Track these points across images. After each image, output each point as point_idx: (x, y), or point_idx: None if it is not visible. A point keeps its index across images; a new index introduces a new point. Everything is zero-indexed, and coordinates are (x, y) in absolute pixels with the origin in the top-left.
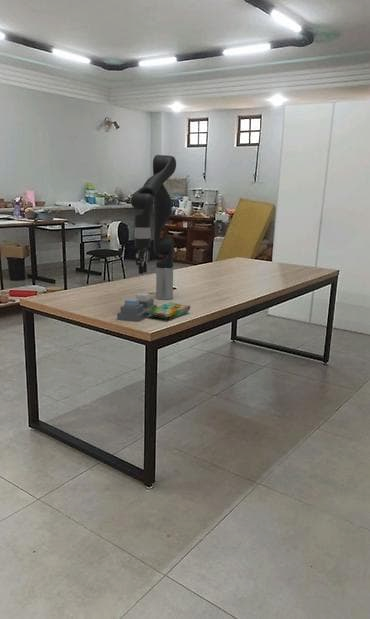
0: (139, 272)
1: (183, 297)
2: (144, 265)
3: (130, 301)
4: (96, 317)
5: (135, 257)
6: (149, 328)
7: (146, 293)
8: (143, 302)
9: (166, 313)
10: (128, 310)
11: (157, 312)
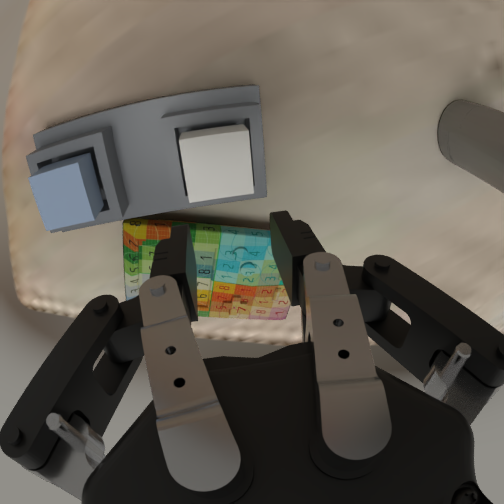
0: (160, 247)
1: (474, 191)
2: (290, 283)
3: (39, 207)
4: (31, 40)
5: (23, 401)
6: (44, 283)
7: (246, 177)
8: (172, 185)
9: None
10: None
11: (125, 277)
